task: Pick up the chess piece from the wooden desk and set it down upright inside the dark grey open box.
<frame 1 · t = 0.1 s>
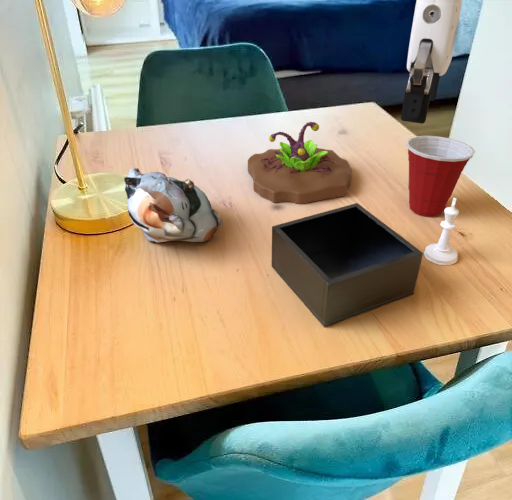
hand: (418, 109, 72), 20 cm above the table, tool pointing down, fingers open, 9 cm apart
plant: (300, 179, 99), on the table
plastic cup: (426, 209, 89), on the table
dark grey open box: (339, 279, 73), on the table
chess piece: (440, 256, 77), on the table
lucky cat figurine: (177, 235, 83), on the table
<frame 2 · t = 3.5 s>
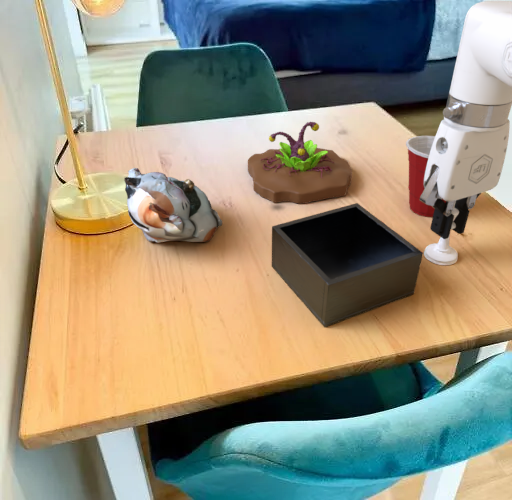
hand: (446, 230, 75), 5 cm above the table, tool pointing down, fingers closed on chess piece
chess piece: (440, 256, 77), on the table, touching gripper
everything else where it was.
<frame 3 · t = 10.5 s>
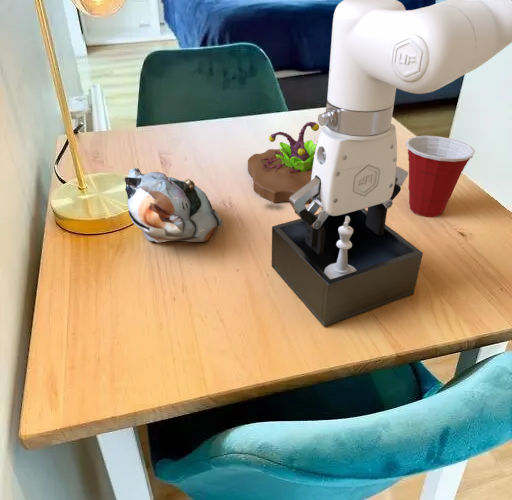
hand: (345, 239, 69), 7 cm above the table, tool pointing down, fingers open, 9 cm apart
chess piece: (340, 277, 72), resting on dark grey open box
everything else where it was.
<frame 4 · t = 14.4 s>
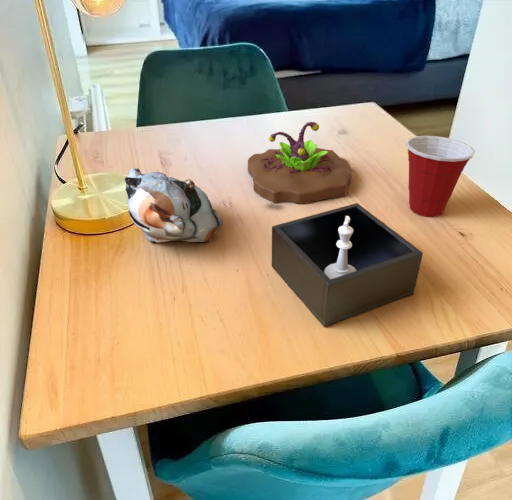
nothing on the table moved.
at the end: chess piece inside the target area in the dark grey open box (0.0 cm from its centre), point 0.4 cm above the dark grey open box's base; chess piece tilted 0°; the gripper is holding nothing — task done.
